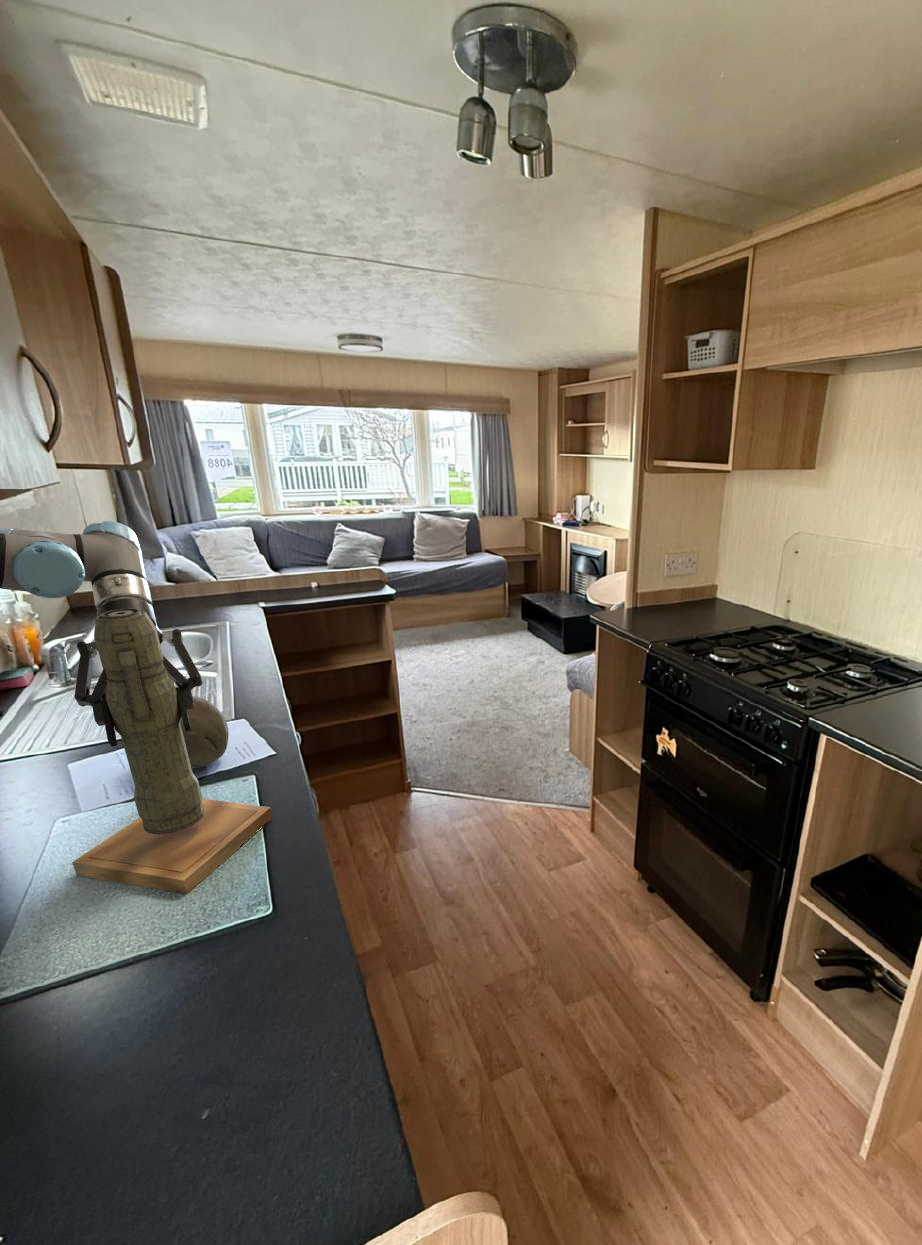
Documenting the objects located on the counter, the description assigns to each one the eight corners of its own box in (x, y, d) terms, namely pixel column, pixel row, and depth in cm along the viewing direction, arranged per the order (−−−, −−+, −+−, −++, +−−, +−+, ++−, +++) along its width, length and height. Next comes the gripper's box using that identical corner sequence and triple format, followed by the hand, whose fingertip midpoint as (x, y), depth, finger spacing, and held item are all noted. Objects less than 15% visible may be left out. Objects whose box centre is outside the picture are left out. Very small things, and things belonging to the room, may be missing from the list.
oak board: (76, 875, 95) (71, 861, 94) (176, 806, 113) (173, 794, 112) (187, 893, 91) (183, 879, 90) (272, 819, 110) (270, 806, 109)
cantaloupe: (234, 744, 137) (221, 682, 131) (234, 773, 125) (219, 705, 119) (160, 757, 131) (143, 693, 125) (152, 789, 119) (133, 719, 113)
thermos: (146, 846, 94) (83, 627, 81) (139, 811, 102) (81, 608, 90) (211, 826, 99) (161, 616, 86) (199, 795, 107) (152, 600, 95)
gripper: (32, 605, 90) (53, 743, 83) (199, 588, 101) (229, 709, 95) (47, 631, 96) (67, 762, 89) (203, 612, 107) (232, 727, 101)
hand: (151, 735), depth 92 cm, fingers closed on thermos, 9 cm apart
